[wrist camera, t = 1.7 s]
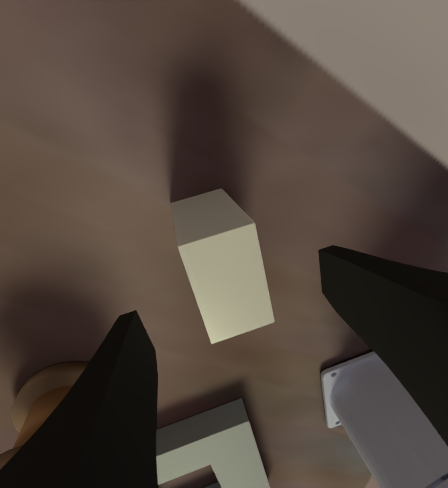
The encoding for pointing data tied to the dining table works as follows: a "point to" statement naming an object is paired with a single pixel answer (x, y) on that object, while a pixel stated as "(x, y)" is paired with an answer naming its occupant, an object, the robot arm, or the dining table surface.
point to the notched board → (212, 448)
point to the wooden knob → (40, 400)
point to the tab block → (222, 264)
